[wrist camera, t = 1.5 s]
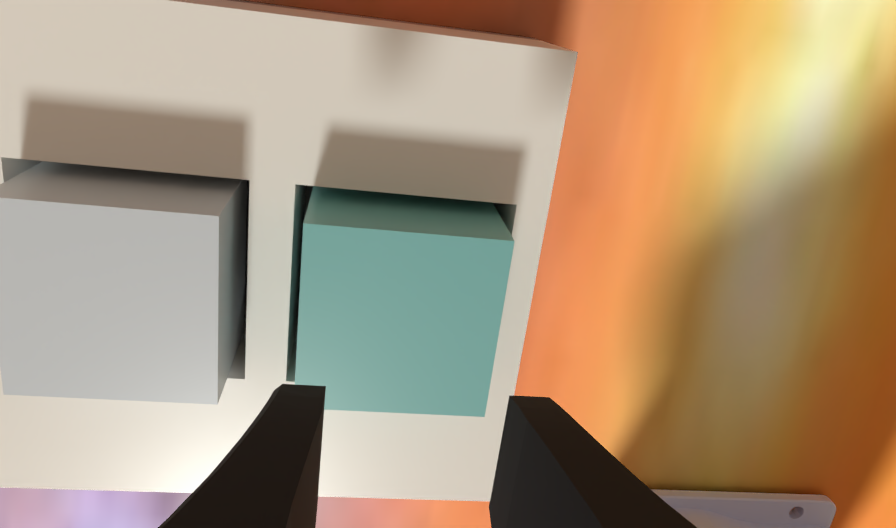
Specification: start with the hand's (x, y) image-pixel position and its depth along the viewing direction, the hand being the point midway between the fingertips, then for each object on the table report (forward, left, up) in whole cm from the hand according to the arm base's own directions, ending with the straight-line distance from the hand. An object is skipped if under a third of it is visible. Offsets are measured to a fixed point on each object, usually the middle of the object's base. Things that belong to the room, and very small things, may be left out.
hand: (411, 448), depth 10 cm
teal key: (0, 0, -7) cm, 7 cm away
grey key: (+6, 0, -7) cm, 9 cm away
